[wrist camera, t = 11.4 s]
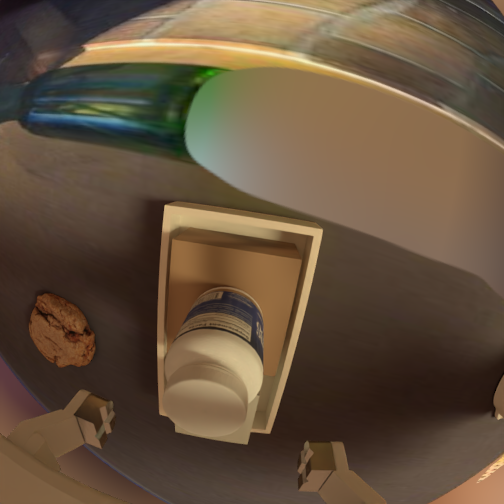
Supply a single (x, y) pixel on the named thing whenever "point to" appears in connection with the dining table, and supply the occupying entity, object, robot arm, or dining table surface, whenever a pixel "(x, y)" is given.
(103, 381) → the dining table surface
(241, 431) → the pale green block
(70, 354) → the cookie
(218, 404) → the pill bottle
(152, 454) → the dining table surface
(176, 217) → the box
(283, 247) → the walnut block
